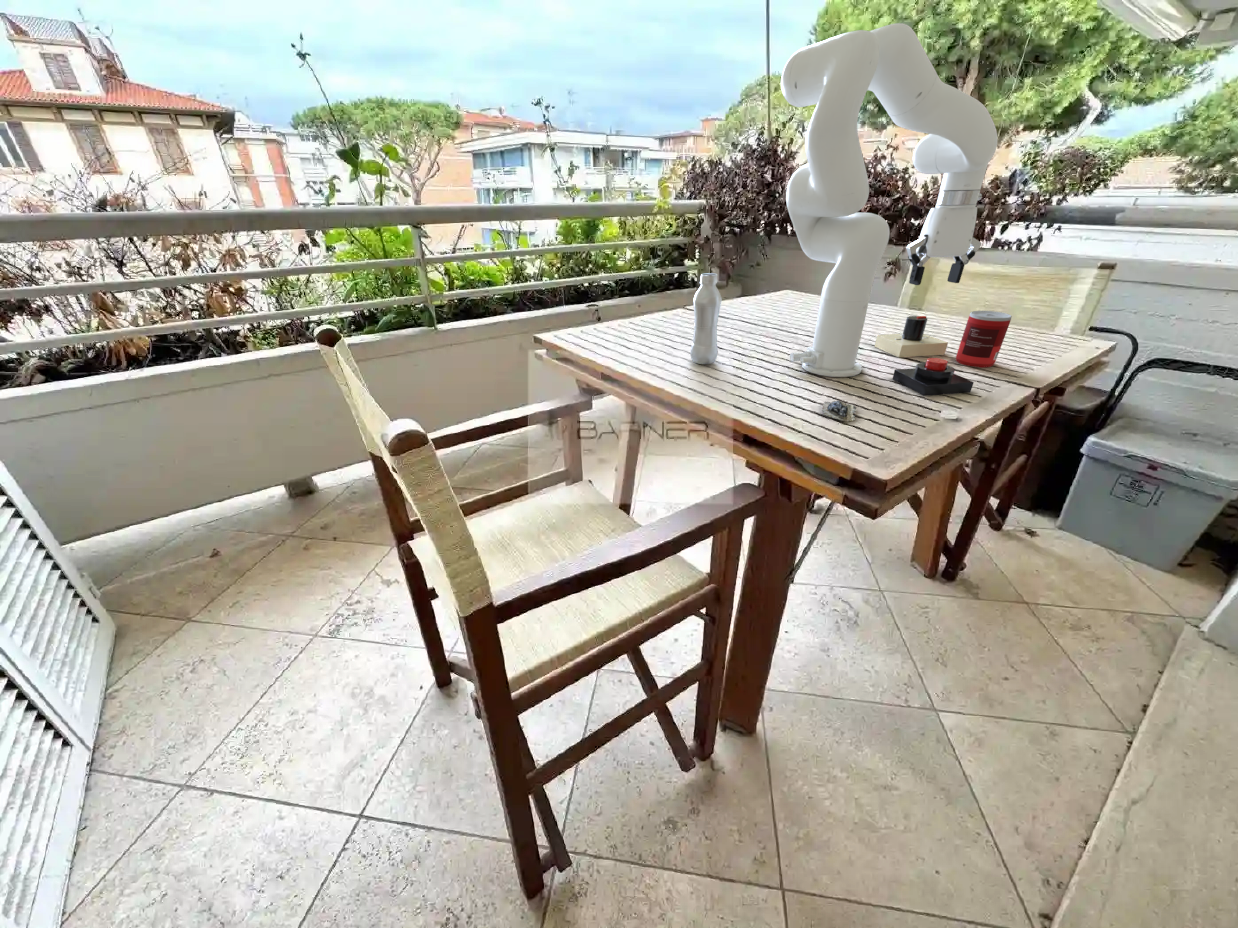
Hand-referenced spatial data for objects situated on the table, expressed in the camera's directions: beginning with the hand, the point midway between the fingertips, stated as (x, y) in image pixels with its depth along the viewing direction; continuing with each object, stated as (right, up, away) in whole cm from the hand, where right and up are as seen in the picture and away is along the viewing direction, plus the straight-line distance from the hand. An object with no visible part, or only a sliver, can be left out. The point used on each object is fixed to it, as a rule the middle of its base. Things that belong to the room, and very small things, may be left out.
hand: (933, 283), depth 113 cm
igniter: (-10, -26, -14) cm, 31 cm away
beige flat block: (-1, -14, +8) cm, 16 cm away
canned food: (+8, -19, -1) cm, 21 cm away
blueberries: (-33, -33, -25) cm, 53 cm away
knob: (-1, -11, +7) cm, 13 cm away
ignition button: (-10, -23, -16) cm, 30 cm away
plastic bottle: (-54, -18, +3) cm, 57 cm away
